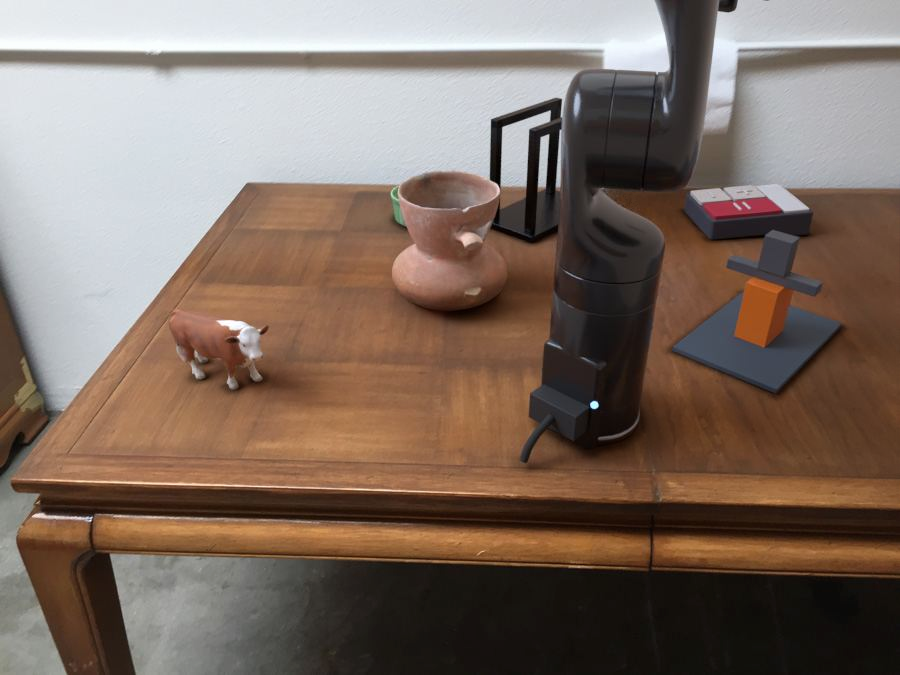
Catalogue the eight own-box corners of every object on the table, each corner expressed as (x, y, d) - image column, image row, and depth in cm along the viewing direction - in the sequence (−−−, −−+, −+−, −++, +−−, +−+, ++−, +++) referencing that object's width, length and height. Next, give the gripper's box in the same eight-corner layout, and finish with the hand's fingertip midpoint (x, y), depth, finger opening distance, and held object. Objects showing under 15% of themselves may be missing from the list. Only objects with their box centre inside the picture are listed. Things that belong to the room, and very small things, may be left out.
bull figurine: (260, 409, 78) (249, 341, 73) (170, 370, 84) (154, 305, 79) (290, 388, 81) (280, 321, 76) (200, 351, 87) (187, 288, 83)
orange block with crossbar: (792, 358, 84) (820, 258, 77) (707, 326, 90) (727, 230, 83) (810, 340, 87) (839, 242, 80) (727, 310, 93) (747, 216, 86)
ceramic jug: (529, 315, 93) (535, 205, 86) (415, 337, 89) (411, 224, 82) (475, 253, 108) (476, 155, 100) (375, 270, 103) (368, 169, 96)
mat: (775, 394, 79) (777, 389, 79) (671, 351, 86) (672, 346, 86) (840, 327, 90) (842, 323, 90) (744, 293, 97) (744, 289, 97)
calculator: (685, 188, 118) (780, 179, 119) (682, 214, 120) (776, 205, 121) (712, 216, 109) (815, 207, 109) (709, 244, 111) (809, 234, 112)
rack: (531, 243, 110) (537, 133, 102) (479, 224, 116) (481, 119, 108) (598, 209, 121) (609, 107, 112) (547, 193, 127) (554, 94, 118)
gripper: (773, -186, 76) (741, -8, 84) (701, -188, 67) (674, 10, 76) (851, -188, 71) (809, 0, 80) (785, -191, 63) (746, 20, 72)
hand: (743, 5), depth 78 cm, fingers open, 8 cm apart
